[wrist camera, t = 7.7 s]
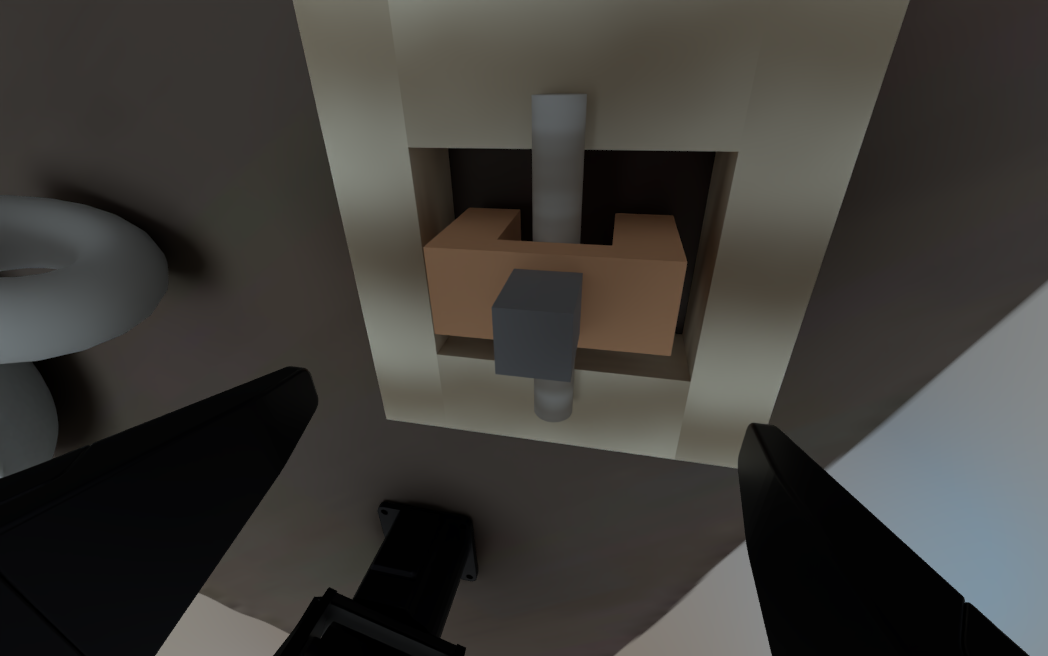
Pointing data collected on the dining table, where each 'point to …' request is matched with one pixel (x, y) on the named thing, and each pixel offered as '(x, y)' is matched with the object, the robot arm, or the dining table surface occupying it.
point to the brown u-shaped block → (556, 290)
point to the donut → (72, 277)
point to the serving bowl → (25, 418)
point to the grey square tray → (557, 184)
